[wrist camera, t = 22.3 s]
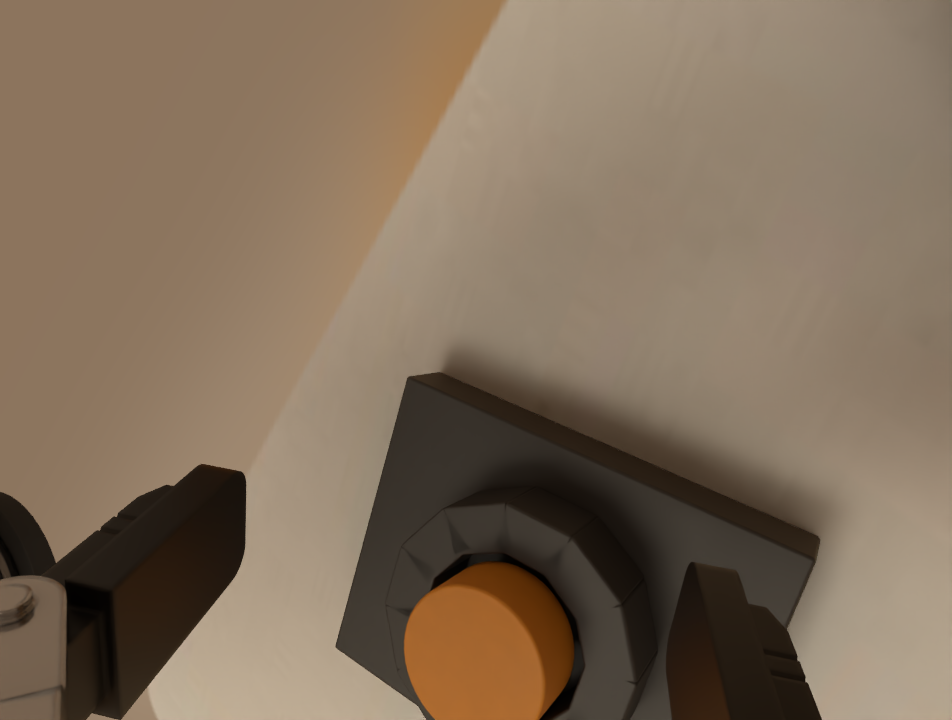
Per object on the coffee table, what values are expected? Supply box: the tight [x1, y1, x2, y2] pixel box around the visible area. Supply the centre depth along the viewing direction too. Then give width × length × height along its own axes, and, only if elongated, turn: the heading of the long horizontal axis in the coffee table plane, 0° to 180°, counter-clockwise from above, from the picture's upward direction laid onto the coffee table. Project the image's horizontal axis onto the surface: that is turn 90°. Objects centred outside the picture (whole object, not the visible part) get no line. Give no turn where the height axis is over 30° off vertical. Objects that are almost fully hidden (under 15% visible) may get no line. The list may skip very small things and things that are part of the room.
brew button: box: [404, 561, 574, 720], centre depth 16 cm, size 4×4×2 cm
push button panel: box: [336, 372, 820, 720], centre depth 18 cm, size 11×9×4 cm
